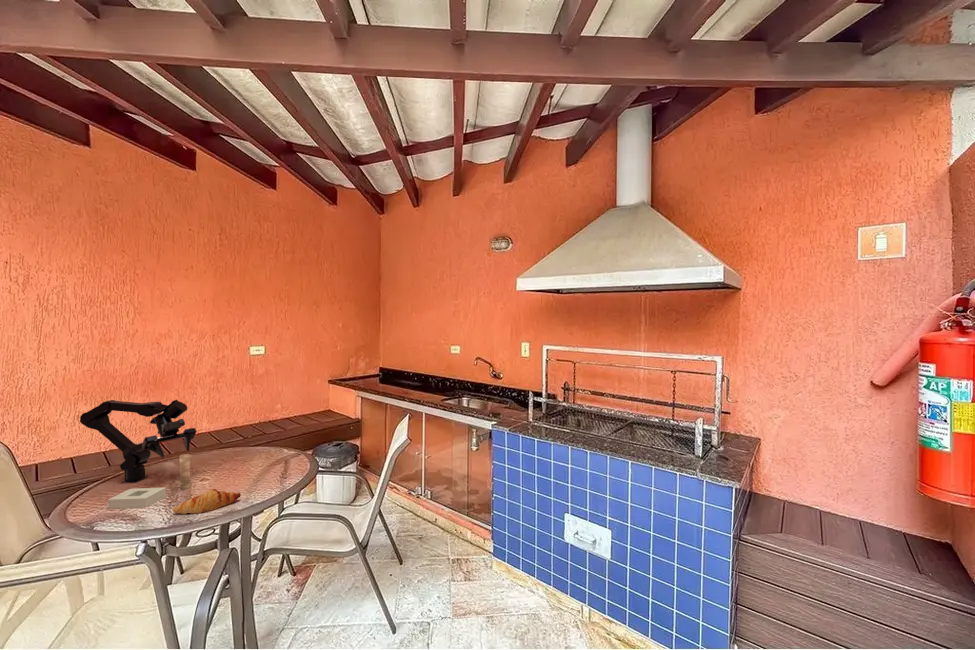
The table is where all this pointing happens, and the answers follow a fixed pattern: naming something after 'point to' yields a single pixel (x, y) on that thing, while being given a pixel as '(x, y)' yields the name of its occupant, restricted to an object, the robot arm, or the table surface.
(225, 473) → the table surface
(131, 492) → the socket block
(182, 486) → the peg
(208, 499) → the croissant
